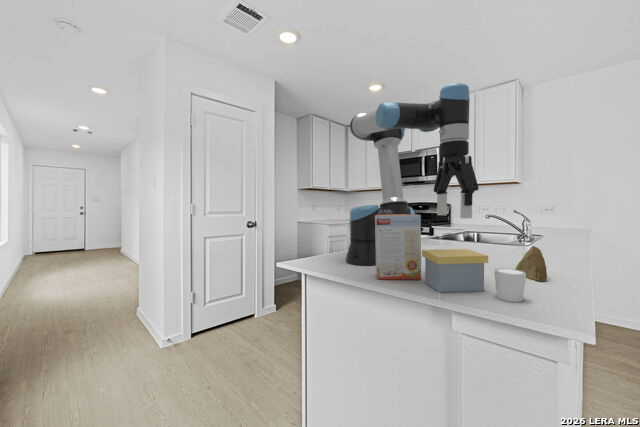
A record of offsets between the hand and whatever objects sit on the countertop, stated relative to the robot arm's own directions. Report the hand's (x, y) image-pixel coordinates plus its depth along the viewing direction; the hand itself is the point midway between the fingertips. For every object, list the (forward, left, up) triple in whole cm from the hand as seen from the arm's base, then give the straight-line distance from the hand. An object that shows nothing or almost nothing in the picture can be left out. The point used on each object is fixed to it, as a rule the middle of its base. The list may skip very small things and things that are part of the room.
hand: (453, 216), depth 82 cm
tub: (-1, 0, -21) cm, 21 cm away
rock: (-8, +29, -21) cm, 37 cm away
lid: (-1, 0, -13) cm, 13 cm away
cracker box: (-12, -13, -21) cm, 27 cm away
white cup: (+10, +10, -21) cm, 25 cm away
